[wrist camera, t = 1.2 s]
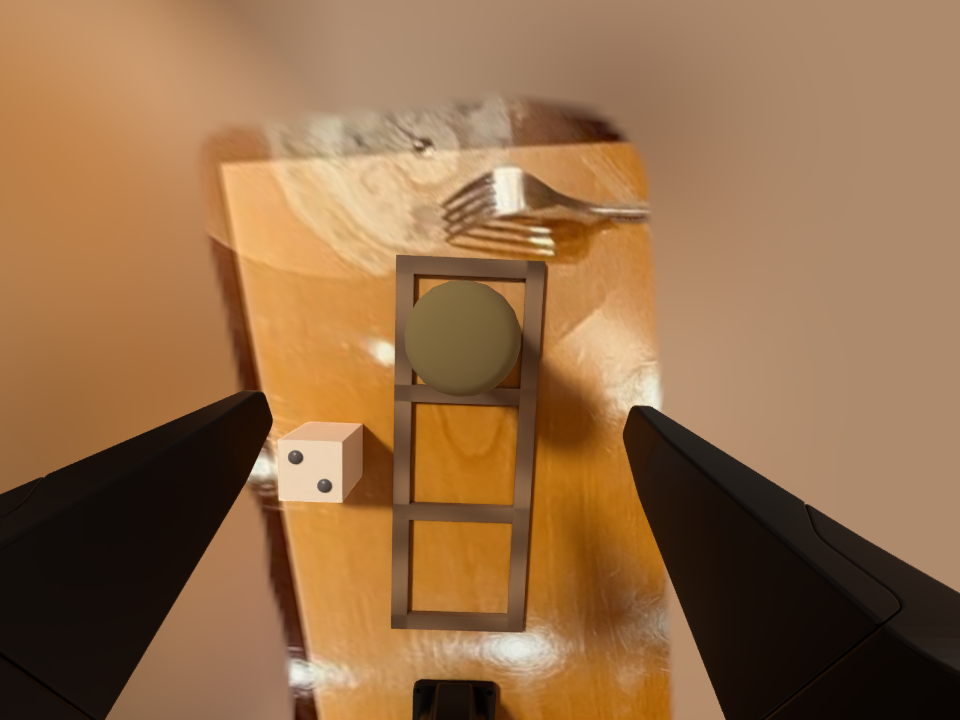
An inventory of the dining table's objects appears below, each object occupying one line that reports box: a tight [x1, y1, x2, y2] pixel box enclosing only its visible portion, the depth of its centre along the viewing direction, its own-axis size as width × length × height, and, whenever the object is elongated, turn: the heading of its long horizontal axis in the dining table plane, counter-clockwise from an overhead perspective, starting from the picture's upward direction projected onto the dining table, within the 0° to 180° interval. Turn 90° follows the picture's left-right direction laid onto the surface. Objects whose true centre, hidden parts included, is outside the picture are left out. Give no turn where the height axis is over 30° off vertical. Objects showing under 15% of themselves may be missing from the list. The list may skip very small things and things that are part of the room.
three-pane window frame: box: [391, 255, 545, 633], centre depth 26 cm, size 28×10×1 cm, turn 178°
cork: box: [404, 280, 521, 397], centre depth 19 cm, size 6×6×11 cm
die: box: [278, 421, 363, 503], centre depth 24 cm, size 4×4×4 cm
